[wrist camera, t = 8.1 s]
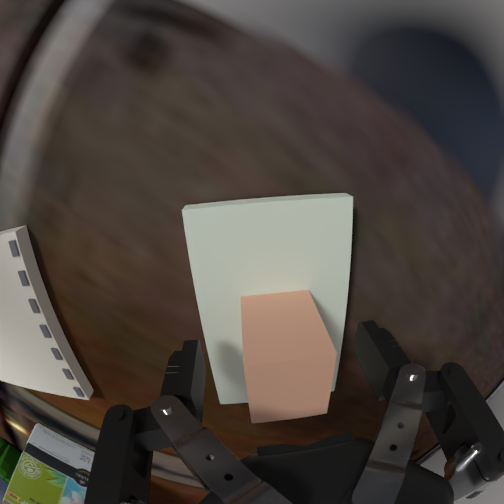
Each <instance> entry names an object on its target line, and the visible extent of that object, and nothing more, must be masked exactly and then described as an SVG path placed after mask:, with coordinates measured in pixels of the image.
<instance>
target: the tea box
mask: <svg viewBox="0 0 504 504" xmlns="http://www.w3.org/2000/svg"><path fill="white" fill-rule="evenodd" d="M94 454H95V452H94V451H92V450H90V449H87V448H85V447H83V446H81V445H79V444H77V443H75V442H73V441H71V440H69V439H67V438H65V437H63V436H61V435H59V434H57V433H55V432H53V431H52V430H50V429H48V428H46V427H44V426H42V425H41V424H39V423H38V424H36V425H35V427H34V429H33V431H32V433H31V435H30V437H29V439H28V441H27V444H26V446H25V448H24V450H23V452H22V454H21V456H20V459H19V461H18V464H17V466H16V468H15V471H14V473H13V475H12V477H11V480H10V483H9V486H8V488H7V490H6V493H5V496H4V498H3V502H2V504H84V500H85V495H86V490H87V485H88V480H89V475H90V471H91V466H92V462H93V458H94Z"/></svg>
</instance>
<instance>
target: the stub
mask: <svg viewBox="0 0 504 504" xmlns="http://www.w3.org/2000/svg"><path fill="white" fill-rule="evenodd" d="M182 214H183V221H184V228H185V235H186V241H187V247H188V253H189V259H190V265H191V271H192V276H193V282H194V287H195V293H196V298H197V303H198V308H199V313H200V318H201V323H202V328H203V333H204V337H205V342H206V346H207V351H208V355H209V360H210V364H211V368H212V373H213V377H214V381H215V385H216V389H217V393H218V397H219V401H220V404H233V403H248V402H249V409H250V415H251V422H252V423H261V422H271V421H280V420H288V419H295V418H302V417H308V416H314V415H320V414H325V413H327V409H328V404H329V399H330V393H331V391H334V389H335V384H336V378H337V372H338V366H339V360H340V354H341V347H342V340H343V332H344V325H345V316H346V307H347V298H348V287H349V275H350V262H351V245H352V222H353V197H352V196H350V195H348V194H346V193H335V194H314V195H297V196H281V197H267V198H255V199H243V200H232V201H221V202H211V203H202V204H193V205H185V207H184V208H183V209H182Z"/></svg>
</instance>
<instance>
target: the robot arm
mask: <svg viewBox="0 0 504 504" xmlns="http://www.w3.org/2000/svg"><path fill="white" fill-rule="evenodd" d="M355 354H356V357H357V359H358V361H359V363H360V365H361V367H362V369H363V371H364V373H365V375H366V377H367V379H368V381H369V384H370V386H371V388H372V390H373V392H374V394H375V396H376V398H377V400H378V401H381V400H385V399H386V401H387V405H386V407H385V410H384V413H383V416H382V418H381V421H380V424H379V426H378V429H377V431H376V434H375V436H374V438H373V441H372V440H369V439H366V438H358V437H353V434H352V432H348V433H344V434H339V435H334V436H330V437H327V438H325V439H323V440H320V441H318V442H316V443H313V444H311V445H308V446H297V445H282V444H280V445H271V446H261V447H257V453H255V454H252V455H250V456H247V457H245V458H243V459H242V460H239V459H238V458H237V457H236V456H235V455H234V454H233V453H232V452H231V451H230V450H229V449H228V448H227V447H226V446H225V445H224V444H223V443H222V442H221V441H220V440H219V439H218V438H217V437H216V436H215V435H214V434H213V433H212V432H211V431H210V430H209V429H208V428H207V427H205V428H204V427H203V426H202V415H203V403H204V391H205V380H206V364H205V359H204V355H203V351H202V347H201V343H200V340H187V341H184V344H183V349H182V351H175V352H174V353H173V354H172V355H171V357H170V358H169V361H168V365H167V366H168V367H167V369H166V374H165V377H164V382H163V386H162V390H161V394H160V397H159V398H157V399H155V400H154V401H153V403H152V405H151V406H150V407H147V408H144V409H139V410H134V411H132V409H131V408H130V407H128V406H126V405H115V406H113V407H111V408H110V409H108V411H107V412H106V414H105V417H104V420H103V424H102V427H101V431H100V435H99V438H98V442H97V446H96V450H95V454H94V458H93V462H92V466H91V471H90V475H89V480H88V485H87V490H86V495H85V500H84V504H148V502H149V489H150V478H151V468H152V458H153V450H158V449H163V448H167V447H172V448H173V450H174V451H175V452H176V454H177V455H178V456H179V457H180V459H181V460H182V461H183V463H184V464H185V465H186V466H187V468H188V469H189V470H190V471H191V473H192V474H193V475H194V477H195V478H196V479H197V480H198V482H199V483H200V484H201V485H202V486H203V488H204V489H205V490H206V491H207V492H208V494H207V495H206V497H205V498H204V499H203V500H202V501H201V502H200V503H199V504H454V503H456V502H458V501H460V500H462V499H464V498H473V497H476V496H477V495H478V494H480V493H481V492H483V491H484V490H485V489H486V488H488V487H489V486H490V485H491V484H493V483H494V482H495V481H497V480H498V479H499V478H500V477H501V476H503V475H504V431H503V429H502V427H501V426H500V424H499V422H498V420H497V419H496V417H495V416H494V414H493V412H492V411H491V409H490V407H489V406H488V404H487V403H486V401H485V400H484V398H483V396H482V395H481V393H480V392H479V390H478V389H477V387H476V386H475V384H474V383H473V381H472V380H471V378H470V377H469V376H468V374H467V373H466V371H465V370H464V368H463V367H462V366H461V365H459V364H457V363H454V362H449V363H445V364H444V365H443V366H442V368H441V370H440V371H425V370H424V368H423V367H421V366H420V365H417V364H413V363H411V362H410V360H409V359H408V357H407V356H406V354H405V353H404V351H403V350H402V349H401V347H400V346H399V344H398V343H397V341H395V338H394V337H393V336H392V334H391V333H390V332H389V331H387V330H386V329H384V328H380V329H379V327H378V326H377V324H376V323H375V321H373V320H371V321H365V322H360V323H359V324H358V328H357V334H356V340H355ZM422 412H425V413H426V416H427V418H428V420H429V422H430V424H431V426H432V428H433V430H434V432H435V434H436V437H437V439H438V441H439V443H440V445H441V448H442V450H443V452H444V455H445V457H446V459H447V462H446V464H445V467H444V472H445V475H444V477H442V476H440V475H438V474H436V473H434V472H432V471H430V470H428V469H426V468H424V467H422V466H420V465H418V464H416V463H414V462H412V461H410V460H409V457H410V454H411V450H412V447H413V444H414V440H415V437H416V433H417V429H418V425H419V421H420V417H421V413H422Z"/></svg>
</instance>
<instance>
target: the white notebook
mask: <svg viewBox="0 0 504 504" xmlns="http://www.w3.org/2000/svg"><path fill="white" fill-rule="evenodd" d="M0 380H1V381H4V382H7V383H11V384H14V385H18V386H22V387H26V388H29V389H34V390H38V391H42V392H47V393H51V394H56V395H61V396H67V397H72V398H78V399H85V400H90V397H91V395H92V393H93V391H94V390H93V388H92V386H91V384H90V383H89V381H88V379H87V378H86V376H85V374H84V372H83V370H82V369H81V367H80V365H79V363H78V361H77V359H76V357H75V355H74V353H73V351H72V349H71V347H70V345H69V343H68V341H67V339H66V337H65V335H64V333H63V330H62V328H61V326H60V324H59V321H58V319H57V317H56V314H55V312H54V310H53V307H52V305H51V302H50V300H49V297H48V294H47V292H46V289H45V286H44V283H43V281H42V278H41V275H40V272H39V269H38V266H37V262H36V259H35V256H34V253H33V249H32V246H31V242H30V238H29V234H28V230H27V226H26V225H25V226H21V227H16V228H12V229H8V230H4V231H0Z"/></svg>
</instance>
